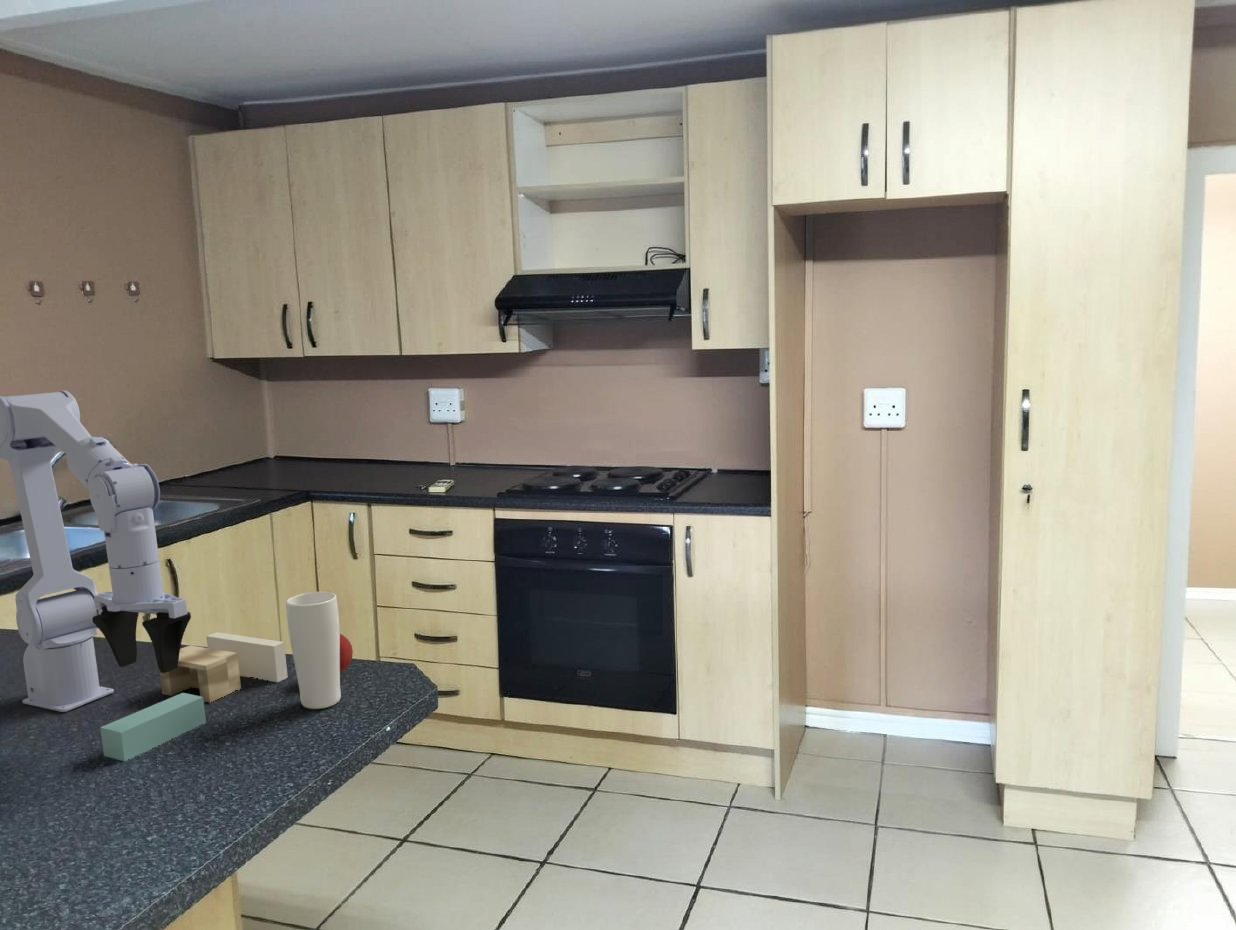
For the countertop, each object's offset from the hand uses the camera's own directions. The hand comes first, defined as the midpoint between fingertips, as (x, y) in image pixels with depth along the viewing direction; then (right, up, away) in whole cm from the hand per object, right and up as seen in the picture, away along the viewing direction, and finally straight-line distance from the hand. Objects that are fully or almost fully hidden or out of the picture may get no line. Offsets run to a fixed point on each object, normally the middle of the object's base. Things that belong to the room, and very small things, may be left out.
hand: (148, 667), depth 126 cm
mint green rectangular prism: (0, -10, +1) cm, 10 cm away
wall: (+4, -6, +24) cm, 25 cm away
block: (0, -7, +17) cm, 19 cm away
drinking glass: (+19, -7, +11) cm, 23 cm away
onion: (+18, -6, +20) cm, 28 cm away
